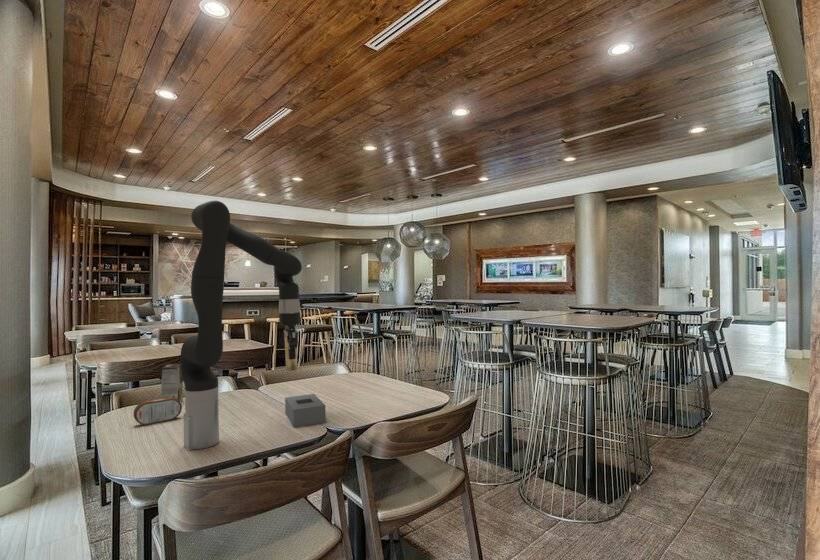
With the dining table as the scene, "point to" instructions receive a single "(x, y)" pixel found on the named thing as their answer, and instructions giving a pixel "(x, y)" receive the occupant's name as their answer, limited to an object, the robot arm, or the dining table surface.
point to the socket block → (305, 410)
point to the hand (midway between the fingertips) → (291, 358)
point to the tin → (157, 410)
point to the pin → (290, 364)
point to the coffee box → (172, 381)
